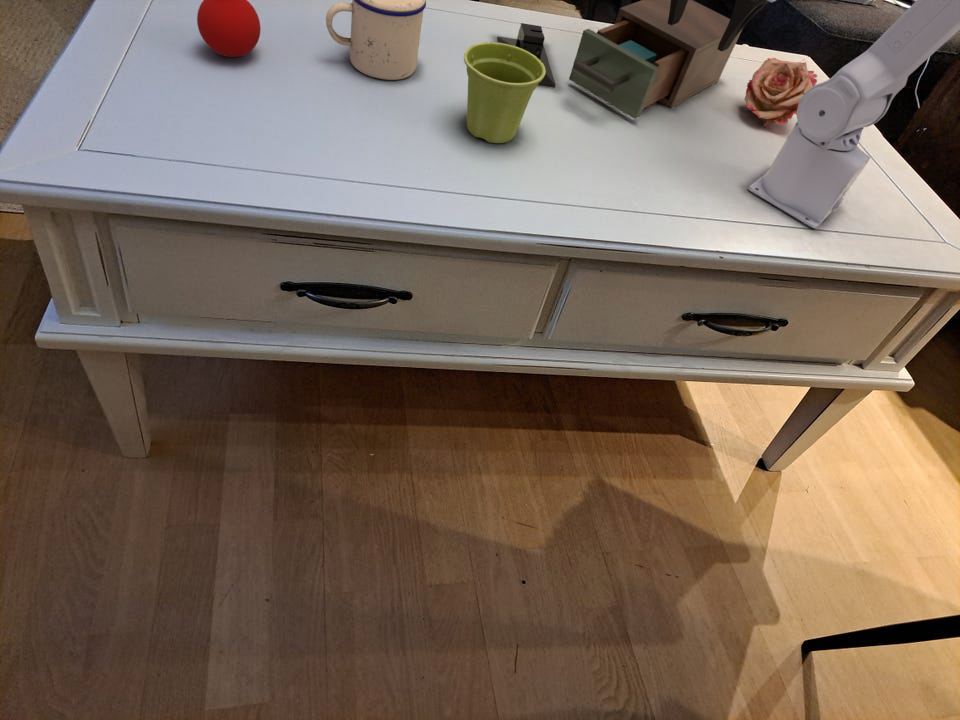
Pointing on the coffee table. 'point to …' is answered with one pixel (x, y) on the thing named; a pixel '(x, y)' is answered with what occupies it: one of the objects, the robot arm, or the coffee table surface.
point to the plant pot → (499, 88)
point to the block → (639, 51)
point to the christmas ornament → (229, 26)
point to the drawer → (627, 66)
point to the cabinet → (686, 42)
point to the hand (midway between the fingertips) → (697, 35)
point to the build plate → (532, 48)
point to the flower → (778, 89)
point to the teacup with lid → (382, 35)
